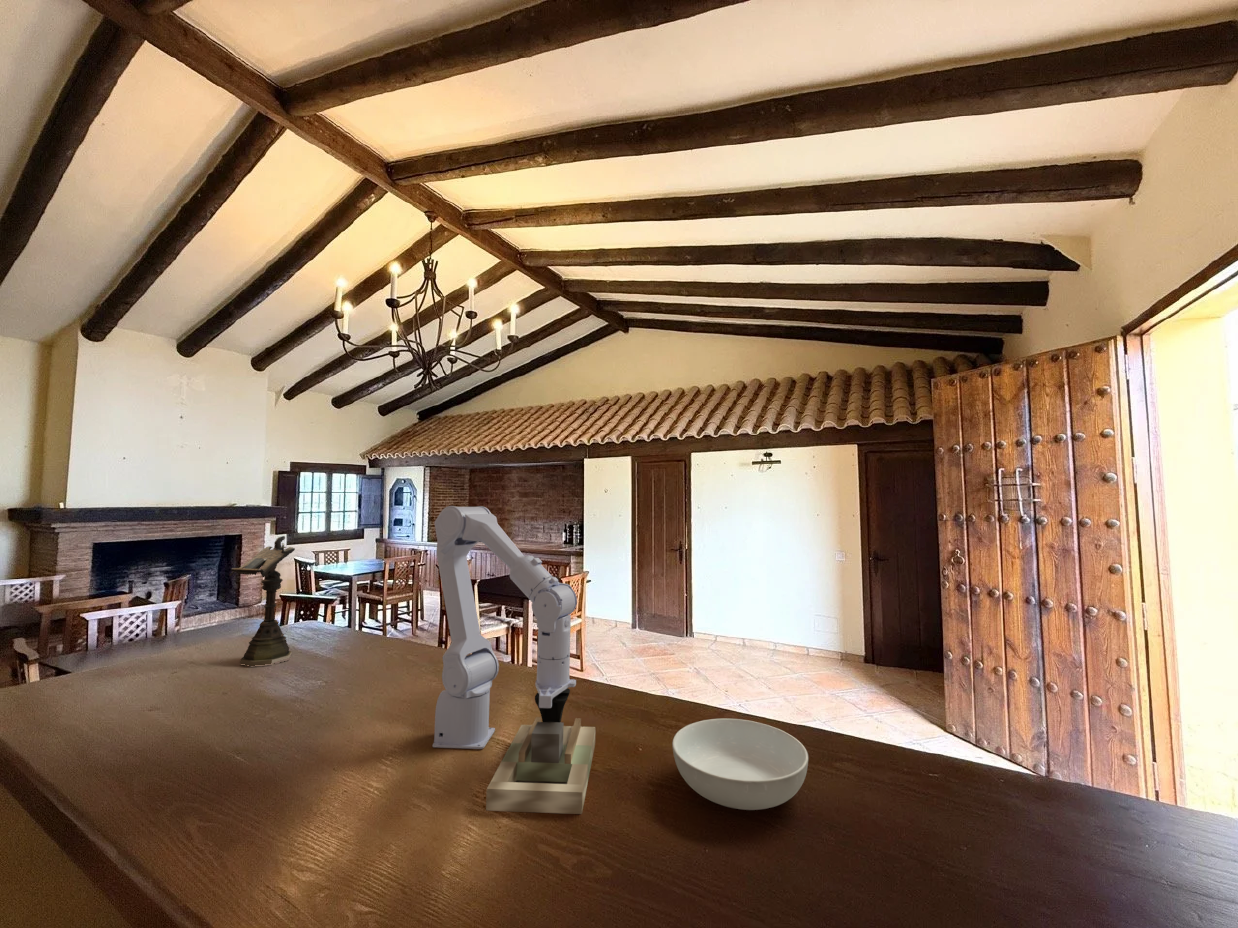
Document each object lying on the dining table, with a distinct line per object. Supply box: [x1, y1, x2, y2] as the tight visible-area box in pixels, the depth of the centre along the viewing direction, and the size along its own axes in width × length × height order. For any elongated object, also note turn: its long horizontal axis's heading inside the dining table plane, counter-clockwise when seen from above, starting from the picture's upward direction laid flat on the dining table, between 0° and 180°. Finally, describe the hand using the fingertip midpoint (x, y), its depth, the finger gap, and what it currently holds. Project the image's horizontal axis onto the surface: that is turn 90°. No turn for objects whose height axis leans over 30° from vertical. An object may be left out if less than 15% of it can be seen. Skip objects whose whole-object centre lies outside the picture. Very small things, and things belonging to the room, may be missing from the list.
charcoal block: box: [531, 721, 565, 763], centre depth 85 cm, size 4×4×4 cm
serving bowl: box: [671, 718, 809, 811], centre depth 81 cm, size 21×21×7 cm
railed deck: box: [485, 716, 596, 815], centre depth 85 cm, size 14×22×4 cm, turn 178°
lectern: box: [229, 535, 296, 666], centre depth 142 cm, size 17×13×35 cm
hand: (551, 734), depth 89 cm, fingers closed
